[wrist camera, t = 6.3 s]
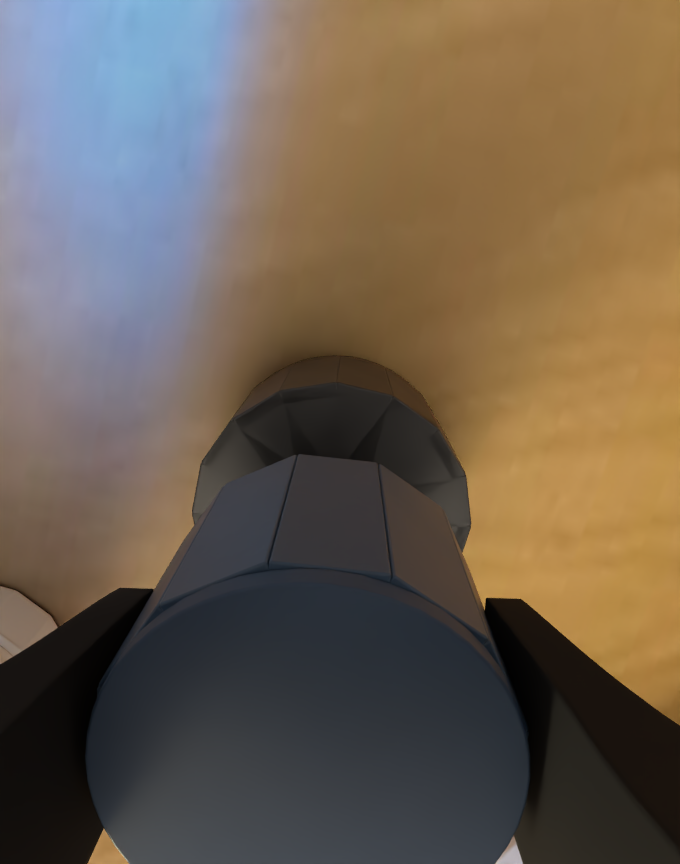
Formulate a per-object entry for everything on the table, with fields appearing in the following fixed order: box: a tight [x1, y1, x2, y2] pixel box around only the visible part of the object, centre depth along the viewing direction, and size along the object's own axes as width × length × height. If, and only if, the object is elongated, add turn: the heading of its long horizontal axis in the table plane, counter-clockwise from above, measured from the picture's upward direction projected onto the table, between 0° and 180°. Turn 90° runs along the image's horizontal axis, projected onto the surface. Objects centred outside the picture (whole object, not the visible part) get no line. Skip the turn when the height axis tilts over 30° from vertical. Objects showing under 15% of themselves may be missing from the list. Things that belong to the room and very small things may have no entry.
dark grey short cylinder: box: [85, 454, 530, 864], centre depth 10 cm, size 6×6×5 cm
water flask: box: [192, 356, 471, 552], centre depth 17 cm, size 7×7×7 cm
